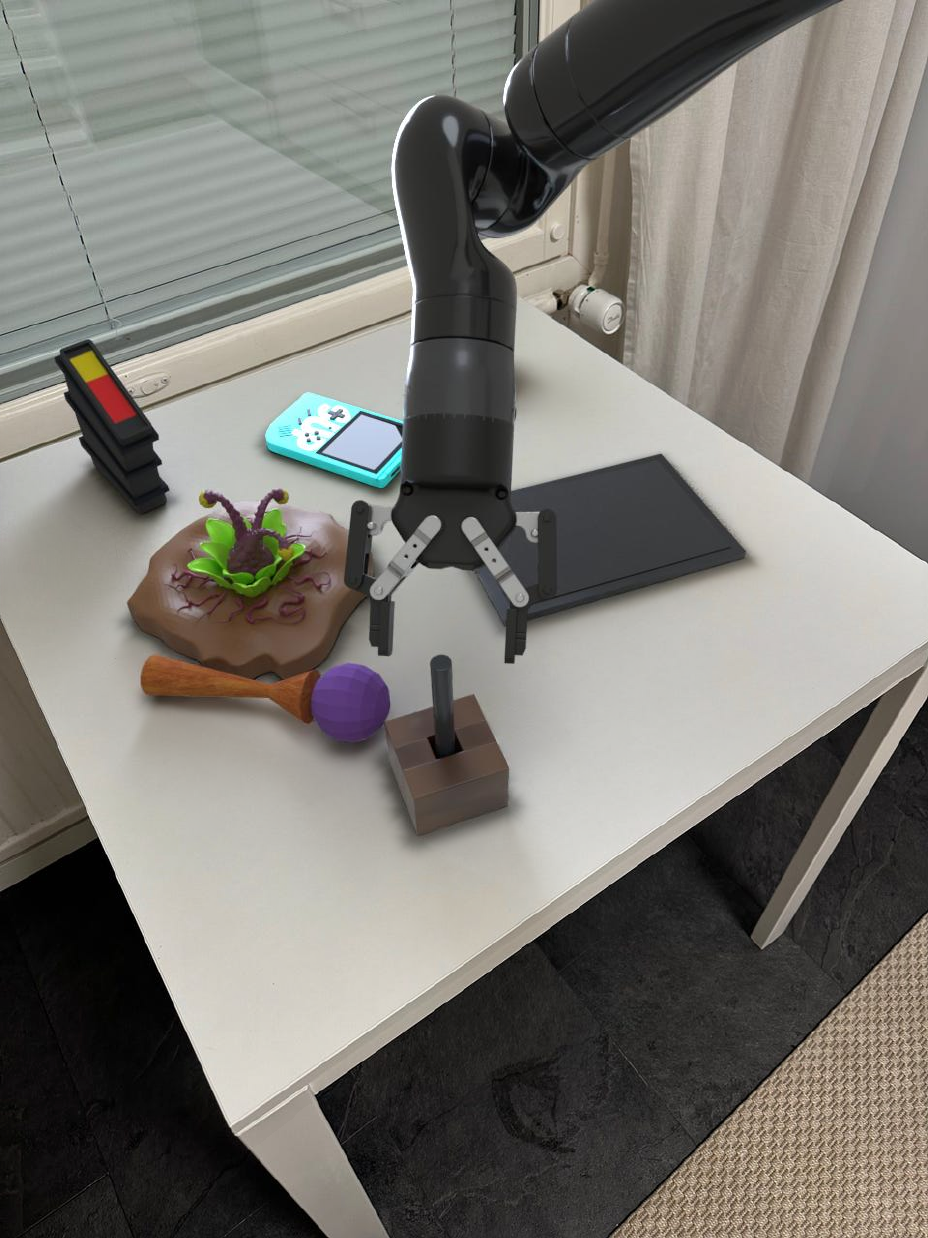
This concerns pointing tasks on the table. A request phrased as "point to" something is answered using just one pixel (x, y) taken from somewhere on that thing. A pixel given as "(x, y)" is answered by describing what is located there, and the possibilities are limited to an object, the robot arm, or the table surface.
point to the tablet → (614, 534)
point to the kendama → (286, 693)
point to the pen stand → (447, 767)
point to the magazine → (112, 426)
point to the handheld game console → (339, 439)
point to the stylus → (443, 705)
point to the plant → (250, 587)
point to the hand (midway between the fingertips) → (447, 659)
